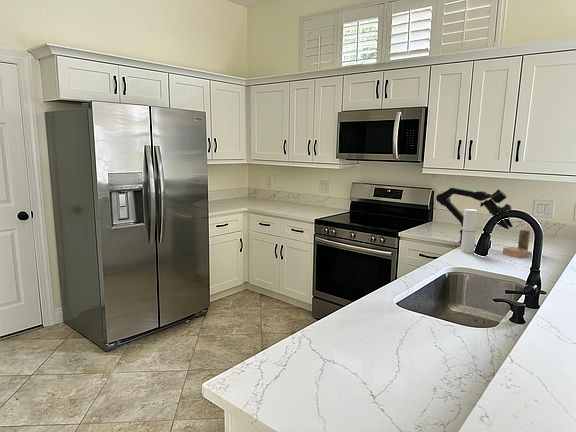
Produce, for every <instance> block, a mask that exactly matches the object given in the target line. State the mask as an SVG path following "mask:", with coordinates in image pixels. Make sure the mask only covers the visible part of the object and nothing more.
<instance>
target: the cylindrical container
mask: <svg viewBox="0 0 576 432" xmlns="http://www.w3.org/2000/svg"><path fill="white" fill-rule="evenodd" d="M463 211H464V212H463V216H464V220H463V227H462V229H463V231H462V243H460V244H461V247H460V251H461V252H462V253H466V254H474V253H475V246H476V245H475V243H476V232H477V224H478V223H477V222H478V221H477V220H478V209H474V208H473V209H471V208H465V209H464V210H463ZM473 252H474V253H473Z"/></svg>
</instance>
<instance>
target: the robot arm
mask: <svg viewBox="0 0 576 432" xmlns="http://www.w3.org/2000/svg"><path fill="white" fill-rule="evenodd" d="M453 195H458V196H464V197H470V198H472V199H474V200H476V201H480V205H479V206H480V208H482V207H485V209H486V210H487V211H488V213H489V214H490V215H492V217H494V215H496V214H497V213H500V212H503V211H505V212H508V211H507V210H509V211H511V210H512V211H513V209H512V205H511V204H508V203H506V204H504V205H503V206H498V204H501V203H502V202H503V201H505V200H506V199H507V197H508V196H507V195H506V194H505V193H504V192H503V191H502V190H500V189H497V190H496V191H494V193H493V194H491V193H488V192H486V191H485V190H484V191H483V190H477V191H473V190H467V189H462V188H457V187H449V189H447V190H445V191H444V192H442V193H439V194H437V195H436V196H435V197H436V198H435V200H436V201H437V202H438V203H439V204H440V205H442V206H443V207H445V208H446V209H447V210H448V211H449V212H450V213H451V214H452V215H453V216H454V217H455V218H456V219H457V221H459V223H460V225H461V227H462V229H460V230H459V233H460V237H459V240H458V243H460V244H461V243H462V231H463V220H464V213H462V212H461V211H460V210H459V209H458V208H457V207H456V206H455V205H454V204H453V203H452V201H451V198H450V197H452V196H453ZM496 225H498V226H499V227H502V228H504V229H506V230H509V228H513V224H512V222H511V219H510V217H509V218H508V219H504V220H501V221H500V222H499V223H497V224H496Z"/></svg>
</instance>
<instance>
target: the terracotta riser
mask: <svg viewBox="0 0 576 432" xmlns="http://www.w3.org/2000/svg"><path fill="white" fill-rule="evenodd" d="M528 252H529V249H528V250H526V249H522V248H518V246H517V247H516V246H508V247H503V248H502V255H505V256H509V257H514V258H525V257H527V256H528Z"/></svg>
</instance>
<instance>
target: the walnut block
mask: <svg viewBox="0 0 576 432" xmlns="http://www.w3.org/2000/svg"><path fill="white" fill-rule="evenodd" d="M518 234H519V237H518V245H517V248H522V249H526V250H528V251H529V243H530V235H531V230H530V229H529V230H528V229H527V230H526V229H520V230H519V233H518Z"/></svg>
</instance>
